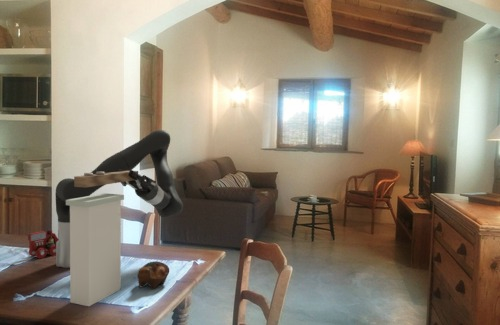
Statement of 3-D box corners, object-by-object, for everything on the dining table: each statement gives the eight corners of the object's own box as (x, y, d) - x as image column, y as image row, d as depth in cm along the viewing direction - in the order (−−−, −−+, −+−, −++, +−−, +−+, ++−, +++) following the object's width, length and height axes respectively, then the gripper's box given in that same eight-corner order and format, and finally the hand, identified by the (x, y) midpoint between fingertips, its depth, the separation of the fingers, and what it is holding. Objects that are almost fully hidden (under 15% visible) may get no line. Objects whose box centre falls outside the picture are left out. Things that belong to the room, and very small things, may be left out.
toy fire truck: (63, 253, 162) (63, 229, 162) (33, 260, 152) (33, 234, 151) (54, 250, 166) (54, 226, 166) (24, 257, 156) (24, 232, 155)
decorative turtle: (128, 291, 123) (128, 266, 123) (152, 278, 138) (152, 256, 138) (155, 294, 121) (155, 268, 121) (176, 280, 135) (176, 257, 135)
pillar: (104, 284, 129) (104, 193, 127) (123, 288, 126) (124, 194, 124) (66, 303, 114) (65, 200, 112) (87, 308, 111) (87, 202, 109)
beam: (128, 178, 136) (128, 168, 135) (138, 179, 134) (138, 168, 134) (74, 186, 112) (74, 173, 112) (85, 187, 111) (85, 174, 110)
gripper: (137, 181, 148) (111, 161, 134) (168, 183, 144) (145, 163, 129) (131, 199, 145) (103, 180, 131) (163, 202, 141) (138, 183, 126)
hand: (124, 172), depth 130 cm, fingers closed on beam, 4 cm apart
